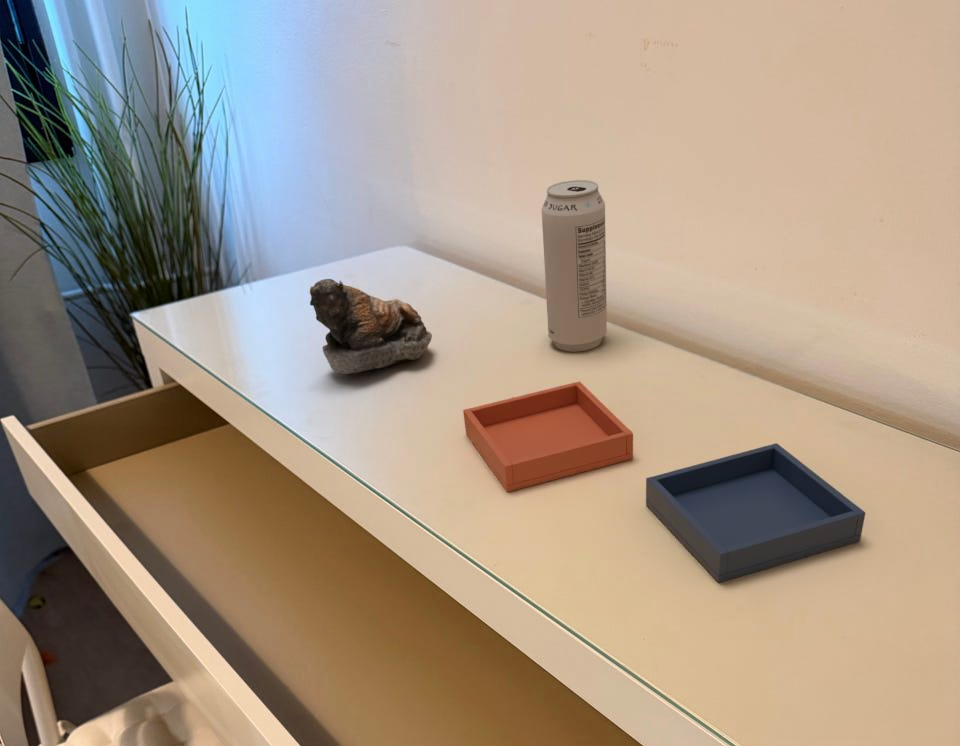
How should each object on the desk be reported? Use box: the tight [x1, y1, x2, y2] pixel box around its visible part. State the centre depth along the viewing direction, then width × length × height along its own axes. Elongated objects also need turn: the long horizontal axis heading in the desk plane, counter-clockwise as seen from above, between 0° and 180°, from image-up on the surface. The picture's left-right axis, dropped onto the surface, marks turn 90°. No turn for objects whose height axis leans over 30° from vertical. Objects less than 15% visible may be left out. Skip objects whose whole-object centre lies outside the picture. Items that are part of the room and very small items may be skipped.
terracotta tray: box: [462, 381, 634, 493], centre depth 80 cm, size 11×11×2 cm
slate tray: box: [645, 442, 866, 583], centre depth 68 cm, size 11×11×2 cm
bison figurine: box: [309, 278, 433, 375], centre depth 94 cm, size 12×7×10 cm, turn 122°
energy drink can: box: [541, 179, 608, 353], centre depth 92 cm, size 6×6×15 cm
